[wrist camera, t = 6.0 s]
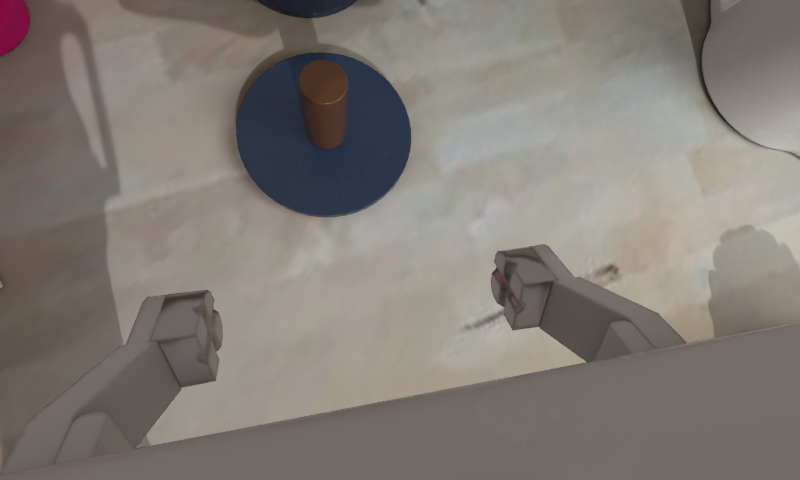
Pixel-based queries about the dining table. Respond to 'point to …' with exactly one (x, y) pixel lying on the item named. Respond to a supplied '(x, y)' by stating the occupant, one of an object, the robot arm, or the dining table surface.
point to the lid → (323, 134)
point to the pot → (308, 7)
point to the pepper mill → (12, 24)
